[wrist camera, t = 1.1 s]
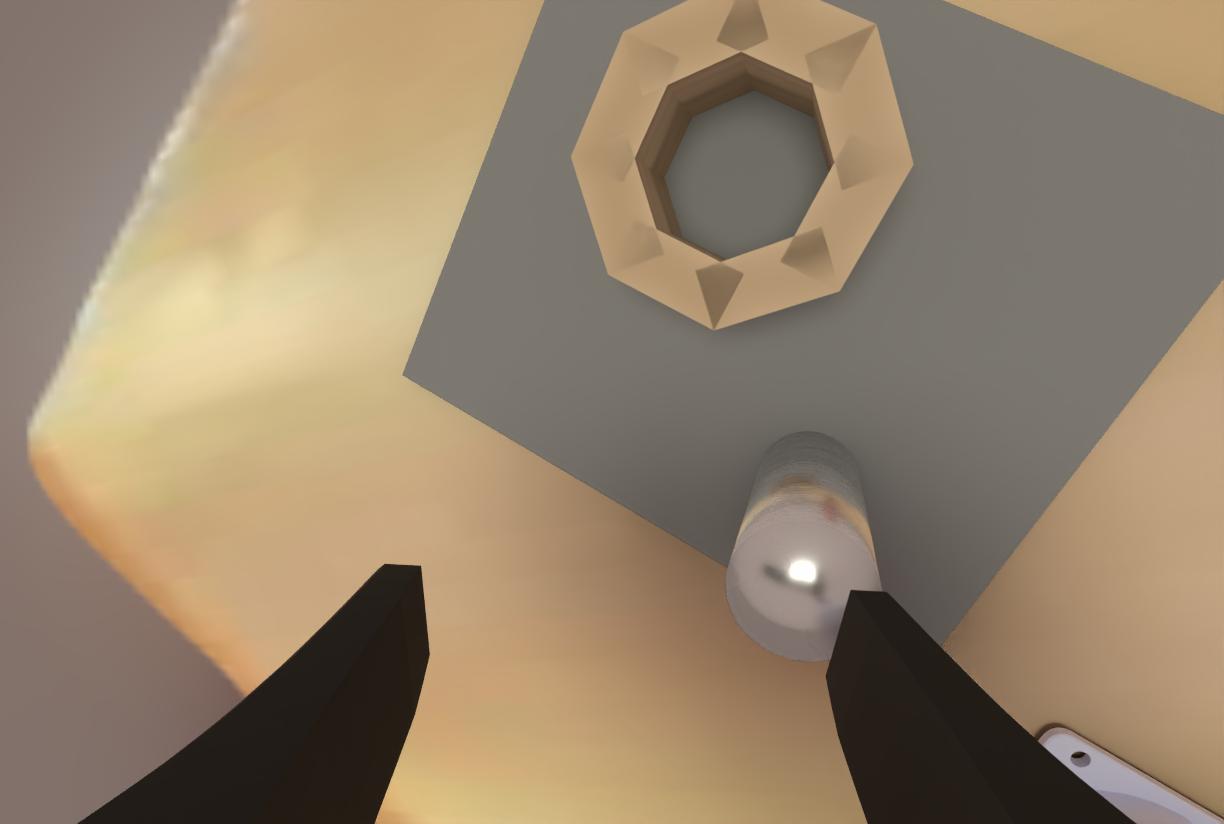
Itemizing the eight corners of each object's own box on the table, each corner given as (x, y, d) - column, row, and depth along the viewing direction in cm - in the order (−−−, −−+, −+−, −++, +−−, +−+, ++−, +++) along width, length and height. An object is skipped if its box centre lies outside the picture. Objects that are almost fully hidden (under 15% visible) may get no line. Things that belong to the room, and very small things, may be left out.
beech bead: (944, 103, 18) (971, 64, 15) (796, 357, 20) (792, 372, 17) (690, -8, 19) (663, -67, 16) (579, 243, 21) (536, 237, 18)
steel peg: (878, 462, 20) (913, 573, 13) (826, 541, 21) (830, 688, 14) (788, 413, 21) (771, 492, 13) (741, 493, 22) (699, 609, 14)
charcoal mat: (1302, 158, 16) (1319, 154, 16) (912, 668, 22) (915, 679, 21) (604, -129, 20) (598, -141, 19) (412, 373, 25) (402, 374, 24)
